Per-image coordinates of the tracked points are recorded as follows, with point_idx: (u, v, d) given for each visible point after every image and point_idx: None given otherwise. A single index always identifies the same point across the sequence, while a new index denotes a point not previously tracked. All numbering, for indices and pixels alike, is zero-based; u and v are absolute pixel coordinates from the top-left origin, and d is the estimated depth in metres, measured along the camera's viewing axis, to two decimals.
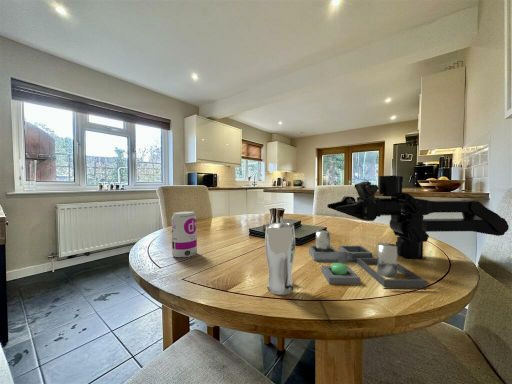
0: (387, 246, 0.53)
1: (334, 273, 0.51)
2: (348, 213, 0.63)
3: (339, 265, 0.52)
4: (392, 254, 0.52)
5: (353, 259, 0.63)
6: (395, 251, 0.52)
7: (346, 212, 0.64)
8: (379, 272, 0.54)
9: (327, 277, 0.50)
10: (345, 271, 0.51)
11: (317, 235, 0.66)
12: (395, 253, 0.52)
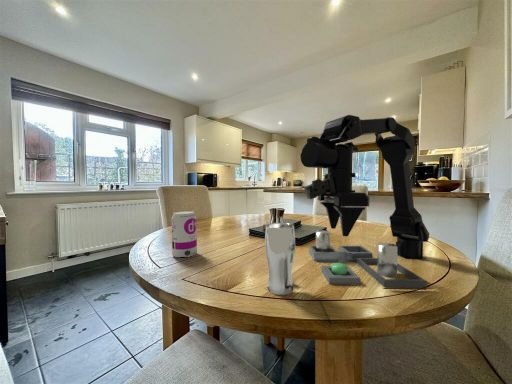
0: (387, 246, 0.53)
1: (334, 273, 0.51)
2: (353, 222, 0.46)
3: (339, 265, 0.52)
4: (392, 254, 0.52)
5: (353, 259, 0.63)
6: (395, 251, 0.52)
7: (351, 224, 0.47)
8: (379, 272, 0.54)
9: (327, 277, 0.50)
10: (345, 271, 0.51)
11: (317, 235, 0.66)
12: (395, 253, 0.52)
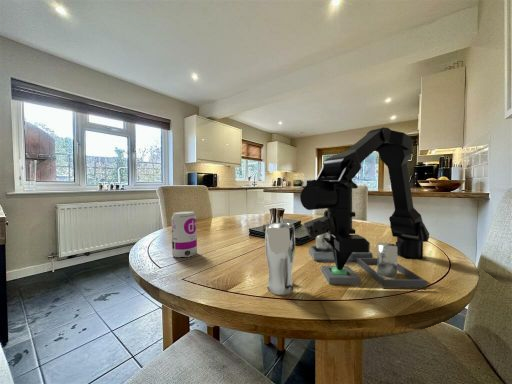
0: (387, 246, 0.53)
1: None
2: (346, 258, 0.51)
3: None
4: (392, 254, 0.52)
5: (353, 259, 0.63)
6: (395, 251, 0.52)
7: (344, 259, 0.51)
8: (379, 272, 0.54)
9: (327, 277, 0.50)
10: None
11: None
12: (395, 253, 0.52)
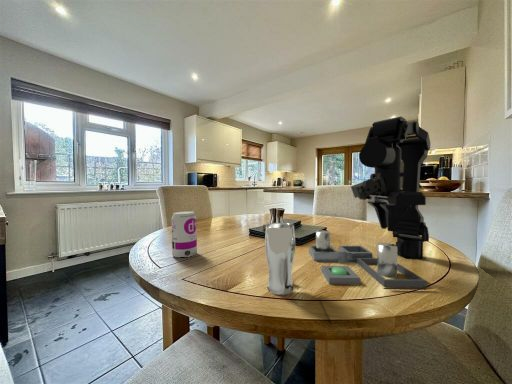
0: (387, 246, 0.53)
1: None
2: (398, 218, 0.51)
3: (339, 269, 0.52)
4: (392, 254, 0.52)
5: (353, 259, 0.63)
6: (395, 251, 0.52)
7: (396, 220, 0.51)
8: (379, 272, 0.54)
9: (327, 277, 0.50)
10: None
11: (317, 235, 0.66)
12: (395, 253, 0.52)
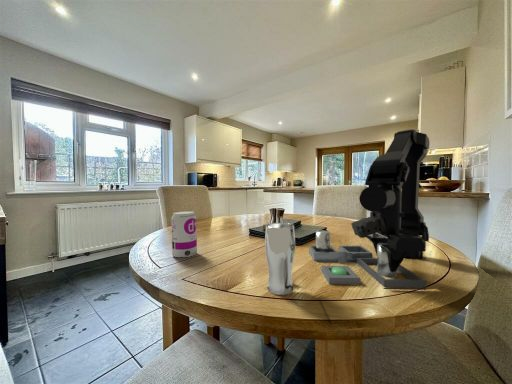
0: None
1: None
2: (401, 260, 0.50)
3: (339, 269, 0.52)
4: None
5: (353, 259, 0.63)
6: None
7: (398, 261, 0.51)
8: (379, 272, 0.54)
9: (327, 277, 0.50)
10: None
11: (317, 235, 0.66)
12: None
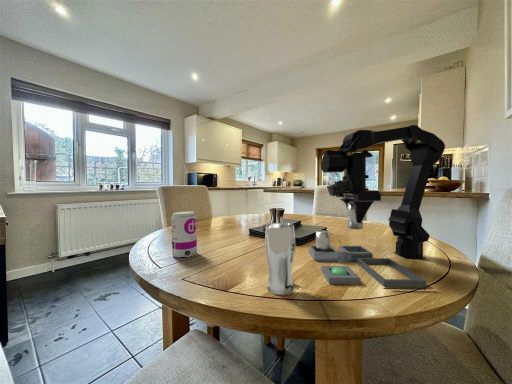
0: None
1: None
2: (365, 212, 0.62)
3: (339, 269, 0.52)
4: None
5: (353, 259, 0.63)
6: None
7: (363, 214, 0.63)
8: (348, 225, 0.66)
9: (327, 277, 0.50)
10: None
11: (317, 235, 0.66)
12: None
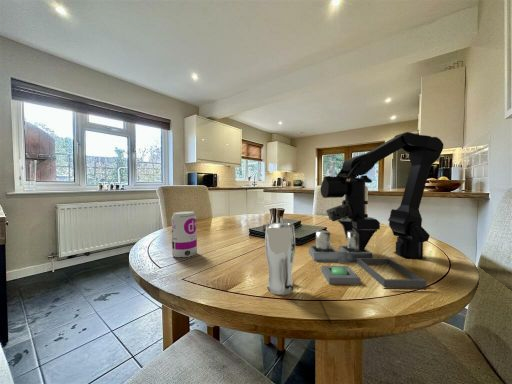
0: (354, 232, 0.65)
1: None
2: (367, 240, 0.61)
3: (339, 269, 0.52)
4: (357, 239, 0.64)
5: (353, 259, 0.63)
6: None
7: (365, 242, 0.61)
8: None
9: (327, 277, 0.50)
10: None
11: (317, 235, 0.66)
12: None
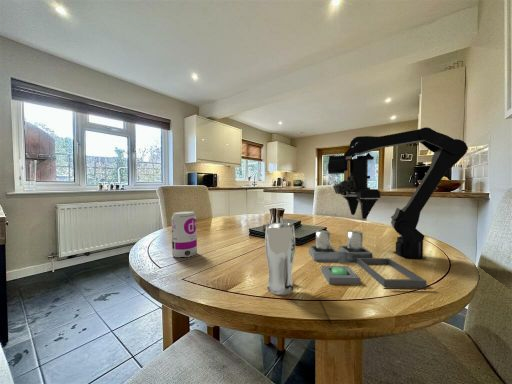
0: (354, 232, 0.65)
1: None
2: (369, 209, 0.69)
3: (339, 269, 0.52)
4: (357, 238, 0.64)
5: (353, 259, 0.63)
6: (360, 236, 0.64)
7: (368, 210, 0.69)
8: None
9: (327, 277, 0.50)
10: None
11: (317, 235, 0.66)
12: (360, 238, 0.64)
